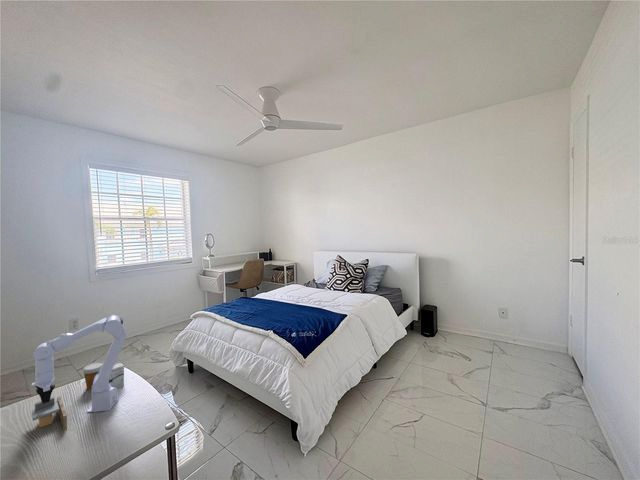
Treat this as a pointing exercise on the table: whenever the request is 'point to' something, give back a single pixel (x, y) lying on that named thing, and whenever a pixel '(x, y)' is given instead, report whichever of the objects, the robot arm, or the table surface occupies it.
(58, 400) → the walnut track wall
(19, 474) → the table surface
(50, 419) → the letter cube
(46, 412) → the slate cover
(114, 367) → the ink box
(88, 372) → the disposable coffee cup
